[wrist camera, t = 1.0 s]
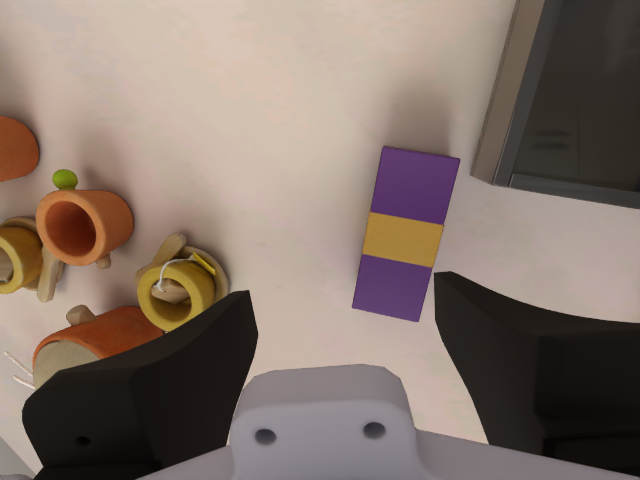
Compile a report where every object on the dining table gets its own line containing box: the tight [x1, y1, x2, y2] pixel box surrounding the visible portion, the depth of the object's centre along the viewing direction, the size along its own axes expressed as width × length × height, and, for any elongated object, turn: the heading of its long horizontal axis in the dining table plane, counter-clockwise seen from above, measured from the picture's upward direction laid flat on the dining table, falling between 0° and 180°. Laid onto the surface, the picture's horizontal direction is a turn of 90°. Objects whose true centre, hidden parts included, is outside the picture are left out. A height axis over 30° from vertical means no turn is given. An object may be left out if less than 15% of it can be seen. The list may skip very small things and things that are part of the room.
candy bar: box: [352, 146, 460, 322], centre depth 23 cm, size 4×10×4 cm, turn 172°
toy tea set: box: [0, 116, 228, 390], centre depth 26 cm, size 26×16×10 cm, turn 53°
